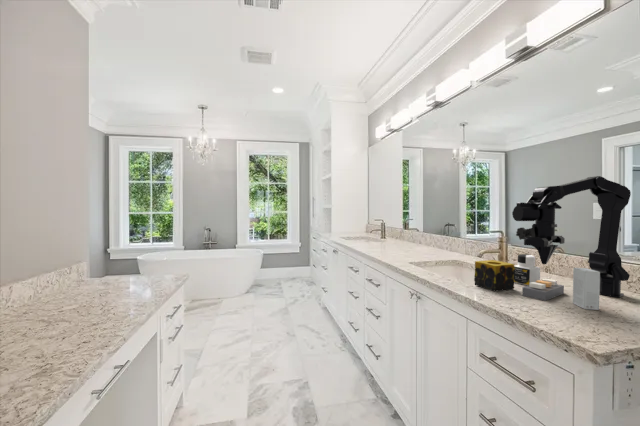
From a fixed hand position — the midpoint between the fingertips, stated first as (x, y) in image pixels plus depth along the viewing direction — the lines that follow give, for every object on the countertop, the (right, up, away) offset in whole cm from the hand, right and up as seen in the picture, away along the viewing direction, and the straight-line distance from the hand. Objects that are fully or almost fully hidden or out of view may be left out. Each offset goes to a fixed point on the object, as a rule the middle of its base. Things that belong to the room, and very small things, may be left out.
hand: (544, 264), depth 109 cm
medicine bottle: (+5, -11, +17) cm, 20 cm away
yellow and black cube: (-12, -11, +10) cm, 20 cm away
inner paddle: (+4, -8, +3) cm, 10 cm away
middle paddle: (0, -8, 0) cm, 8 cm away
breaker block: (0, -11, 0) cm, 11 cm away
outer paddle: (-4, -8, -3) cm, 10 cm away
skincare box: (+4, -12, -13) cm, 18 cm away
